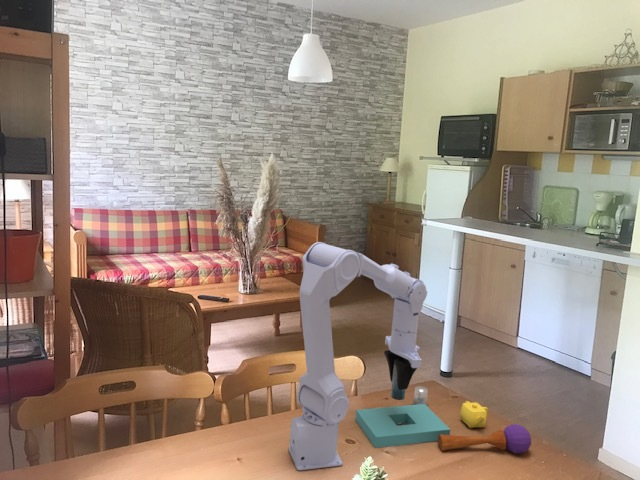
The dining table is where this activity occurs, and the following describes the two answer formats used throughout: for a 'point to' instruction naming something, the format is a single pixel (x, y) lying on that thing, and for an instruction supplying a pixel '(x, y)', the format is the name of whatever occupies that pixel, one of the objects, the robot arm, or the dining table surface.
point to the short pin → (420, 395)
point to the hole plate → (386, 432)
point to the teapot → (474, 414)
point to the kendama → (491, 440)
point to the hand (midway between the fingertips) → (398, 385)
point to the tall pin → (395, 391)
